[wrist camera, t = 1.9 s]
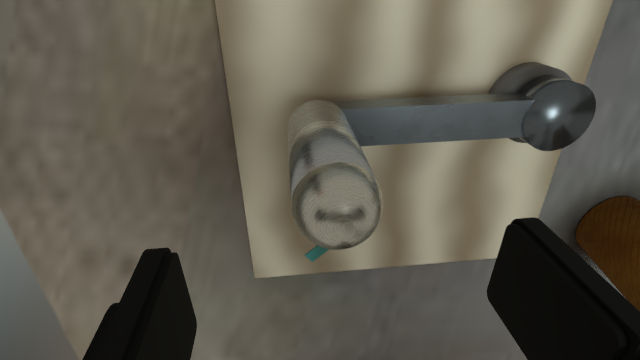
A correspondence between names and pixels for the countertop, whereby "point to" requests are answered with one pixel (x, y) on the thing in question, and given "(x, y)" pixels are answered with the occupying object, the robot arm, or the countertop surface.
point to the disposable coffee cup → (615, 243)
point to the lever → (405, 128)
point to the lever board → (389, 83)
